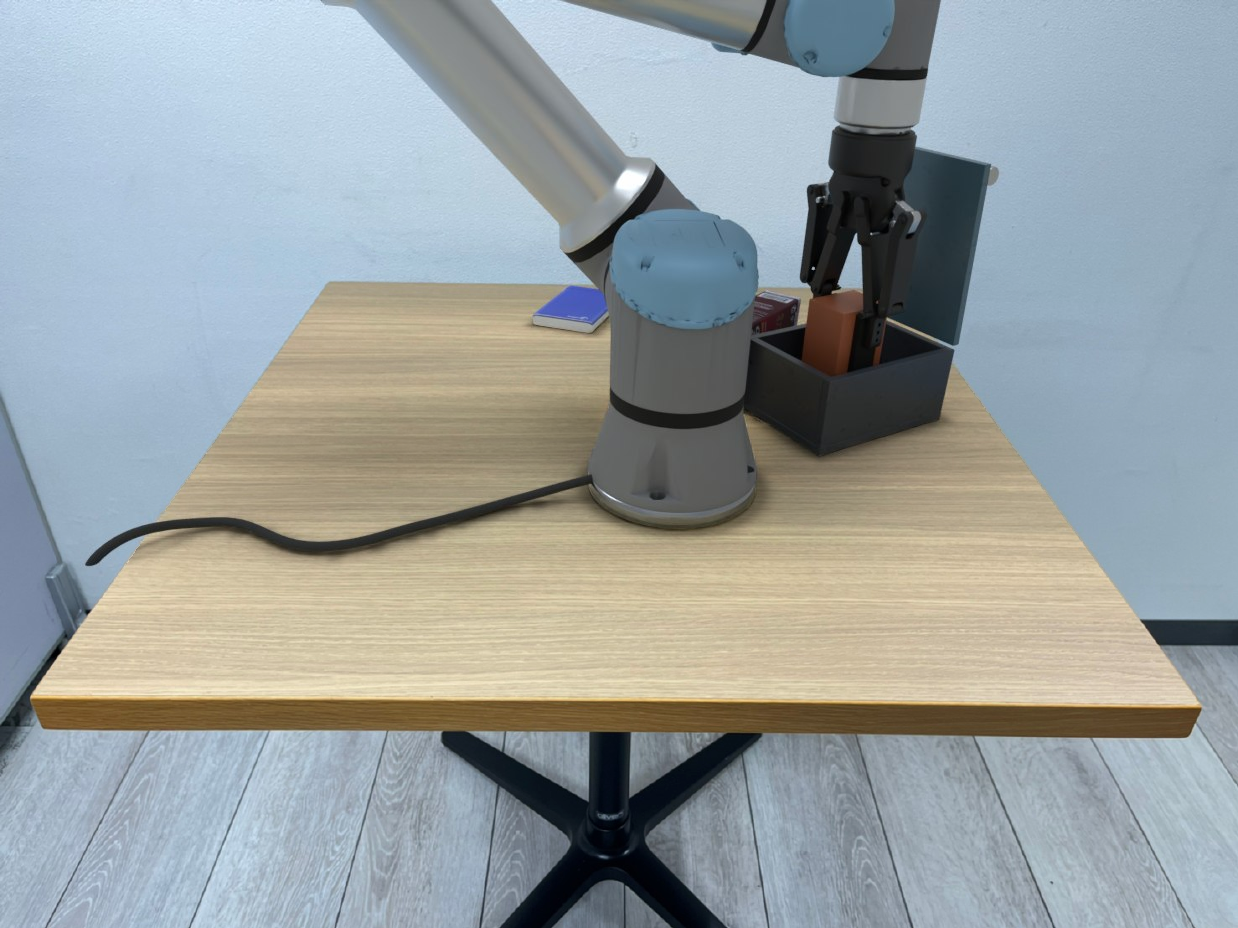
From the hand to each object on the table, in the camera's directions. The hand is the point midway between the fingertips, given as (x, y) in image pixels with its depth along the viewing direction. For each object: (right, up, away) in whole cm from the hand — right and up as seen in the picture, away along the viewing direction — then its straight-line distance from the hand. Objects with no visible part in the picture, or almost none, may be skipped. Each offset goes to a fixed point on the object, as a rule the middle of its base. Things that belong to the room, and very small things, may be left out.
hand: (839, 364), depth 94 cm
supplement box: (-4, +6, +13) cm, 15 cm away
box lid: (+8, +12, -2) cm, 14 cm away
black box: (+1, -5, +3) cm, 6 cm away
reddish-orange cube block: (0, 0, 0) cm, 0 cm away
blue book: (-28, +10, +28) cm, 40 cm away
